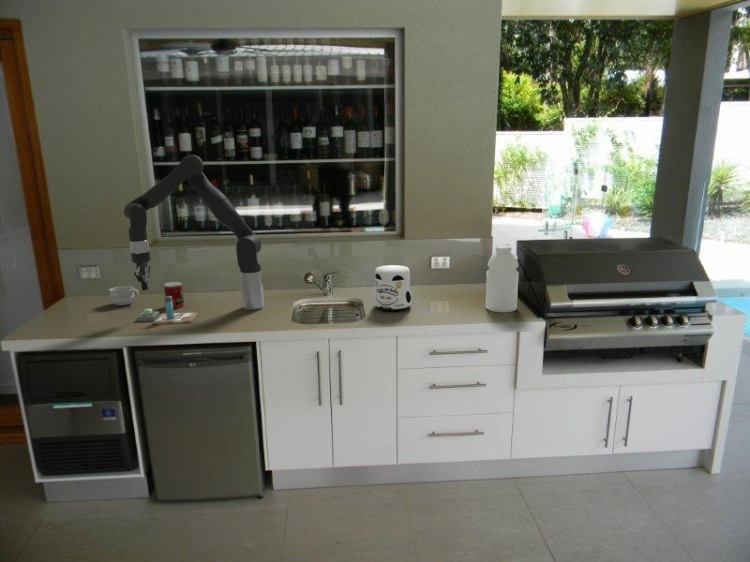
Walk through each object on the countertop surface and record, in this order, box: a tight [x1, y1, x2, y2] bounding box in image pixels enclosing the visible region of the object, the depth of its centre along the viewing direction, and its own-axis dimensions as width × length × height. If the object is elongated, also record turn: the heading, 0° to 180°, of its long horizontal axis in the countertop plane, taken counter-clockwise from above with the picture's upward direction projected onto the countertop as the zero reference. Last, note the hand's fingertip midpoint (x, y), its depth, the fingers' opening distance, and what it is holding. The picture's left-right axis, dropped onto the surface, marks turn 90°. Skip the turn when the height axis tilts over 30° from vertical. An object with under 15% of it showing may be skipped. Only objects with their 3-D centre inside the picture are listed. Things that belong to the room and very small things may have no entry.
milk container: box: [373, 264, 413, 312], centre depth 251 cm, size 17×17×18 cm
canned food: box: [163, 281, 185, 310], centre depth 260 cm, size 8×8×11 cm
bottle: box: [484, 244, 520, 313], centre depth 246 cm, size 14×14×28 cm
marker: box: [163, 296, 175, 319], centre depth 240 cm, size 3×3×9 cm
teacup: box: [108, 285, 140, 306], centre depth 265 cm, size 14×11×8 cm
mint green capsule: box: [142, 308, 154, 316], centre depth 244 cm, size 4×4×3 cm
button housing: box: [136, 310, 161, 322], centre depth 244 cm, size 7×7×2 cm
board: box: [152, 312, 199, 325], centre depth 243 cm, size 16×12×1 cm
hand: (145, 289), depth 241 cm, fingers closed
